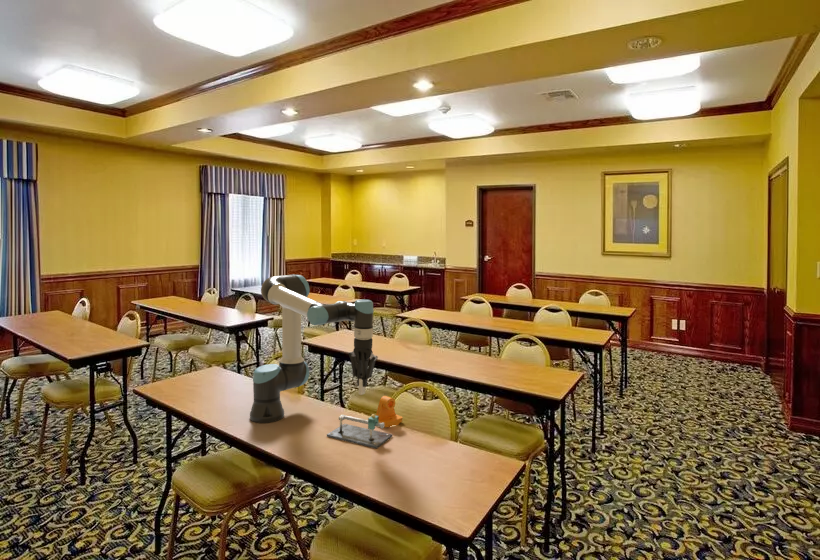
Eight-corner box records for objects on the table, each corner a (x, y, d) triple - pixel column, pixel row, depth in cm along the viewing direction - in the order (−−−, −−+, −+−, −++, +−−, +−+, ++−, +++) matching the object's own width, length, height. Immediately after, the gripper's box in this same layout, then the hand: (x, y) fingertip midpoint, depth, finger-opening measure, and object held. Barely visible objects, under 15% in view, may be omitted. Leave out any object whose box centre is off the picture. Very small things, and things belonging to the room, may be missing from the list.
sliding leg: (367, 438, 194) (367, 416, 193) (373, 434, 198) (373, 412, 197) (372, 439, 193) (373, 417, 192) (378, 435, 197) (378, 413, 196)
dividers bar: (337, 432, 201) (337, 416, 200) (342, 429, 204) (342, 413, 203) (380, 442, 191) (380, 425, 191) (384, 439, 194) (384, 422, 194)
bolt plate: (326, 436, 198) (326, 433, 198) (344, 425, 210) (344, 423, 210) (376, 448, 188) (376, 445, 188) (392, 436, 199) (392, 433, 199)
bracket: (385, 429, 207) (385, 402, 206) (374, 424, 212) (374, 398, 211) (403, 423, 214) (403, 397, 213) (392, 418, 219) (392, 393, 218)
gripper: (344, 337, 194) (343, 393, 196) (372, 341, 188) (370, 399, 191) (354, 334, 201) (353, 388, 203) (381, 338, 195) (380, 393, 197)
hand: (362, 393), depth 197 cm, fingers closed
